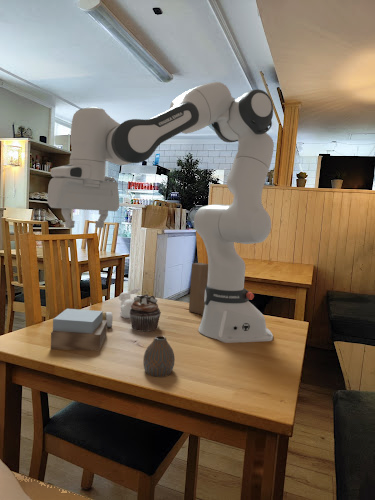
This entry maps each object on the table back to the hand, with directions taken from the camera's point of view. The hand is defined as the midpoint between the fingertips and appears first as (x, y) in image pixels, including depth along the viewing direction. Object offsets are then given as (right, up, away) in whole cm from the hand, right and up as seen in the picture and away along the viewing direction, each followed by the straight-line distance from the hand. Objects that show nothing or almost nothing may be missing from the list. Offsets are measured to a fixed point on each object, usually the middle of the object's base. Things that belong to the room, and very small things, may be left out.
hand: (85, 227), depth 95 cm
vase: (+20, -34, -13) cm, 41 cm away
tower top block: (-2, -26, +2) cm, 26 cm away
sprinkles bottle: (-10, -27, +13) cm, 31 cm away
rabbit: (+7, -29, +30) cm, 42 cm away
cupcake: (+13, -30, +19) cm, 38 cm away
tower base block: (-2, -31, +3) cm, 31 cm away
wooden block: (+32, -29, +40) cm, 59 cm away
